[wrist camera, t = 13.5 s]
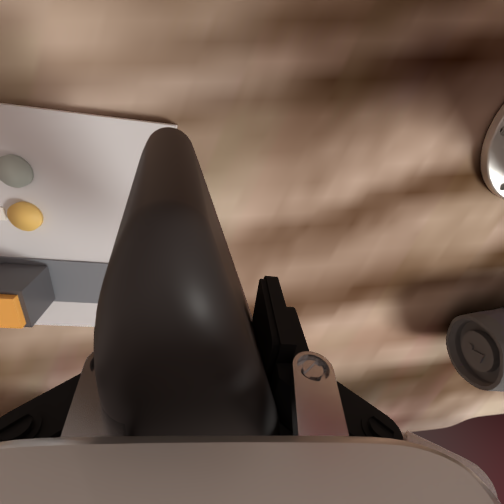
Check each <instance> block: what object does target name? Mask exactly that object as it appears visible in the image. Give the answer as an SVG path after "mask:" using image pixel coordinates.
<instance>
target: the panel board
mask: <svg viewBox="0 0 504 504" xmlns="http://www.w3.org/2000/svg"><path fill="white" fill-rule="evenodd" d="M164 127H172V128H176V129H177V125H176V124H168V123H160V122H152V121H144V120H136V119H128V118H119V117H111V116H103V115H95V114H87V113H79V112H71V111H63V110H55V109H47V108H39V107H31V106H23V105H15V104H7V103H0V265H1V264H2V263H11V264H27V265H43V266H48V269H49V273H50V277H51V281H52V286H53V290H54V294H55V300H54V301H53V303H52V304H51V305H50V306H49V307H48V309H47V310H46V311H45V312H44V313H43V315H42V316H41V317H40V318H39V319H38V321H37V322H36V323H35V324H34V325H60V326H87V327H95V319H96V311H97V305H98V299H99V295H100V291H101V287H102V283H103V279H104V276H105V273H106V269H107V266H108V263H109V260H110V256H111V253H112V250H113V246H114V243H115V240H116V236H117V233H118V230H119V226H120V223H121V220H122V217H123V213H124V210H125V207H126V203H127V200H128V197H129V193H130V190H131V187H132V183H133V180H134V177H135V174H136V170H137V167H138V164H139V160H140V157H141V154H142V152H143V149H144V147H145V144H146V142H147V140H148V138H149V137H150V135H151V134H152V133H153V132H154V131H156V130H158V129H160V128H164Z"/></svg>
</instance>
